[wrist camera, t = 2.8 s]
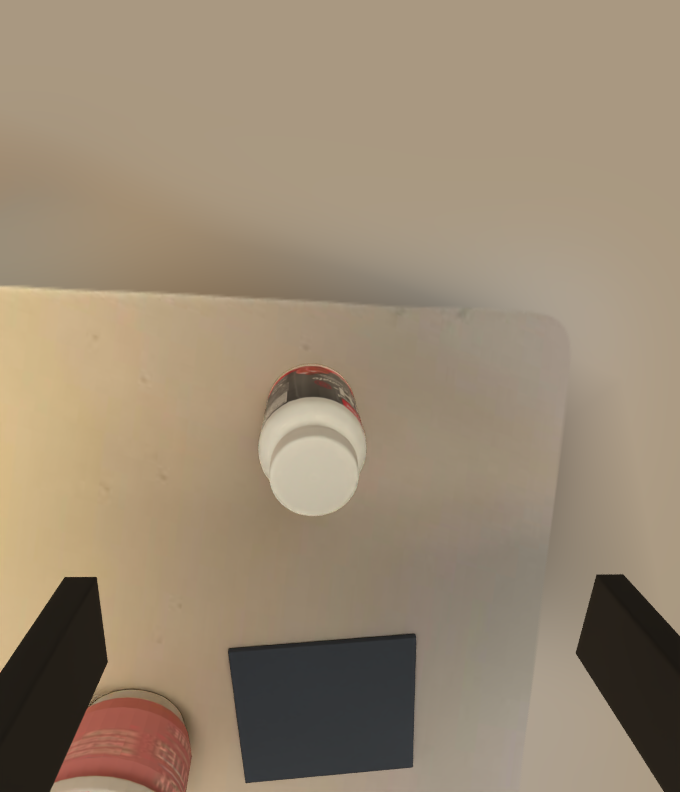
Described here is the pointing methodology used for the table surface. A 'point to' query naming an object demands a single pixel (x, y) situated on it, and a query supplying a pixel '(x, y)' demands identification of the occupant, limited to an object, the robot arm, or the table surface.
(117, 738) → the container
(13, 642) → the table surface
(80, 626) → the robot arm
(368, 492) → the table surface
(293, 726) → the mat
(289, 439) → the pill bottle
